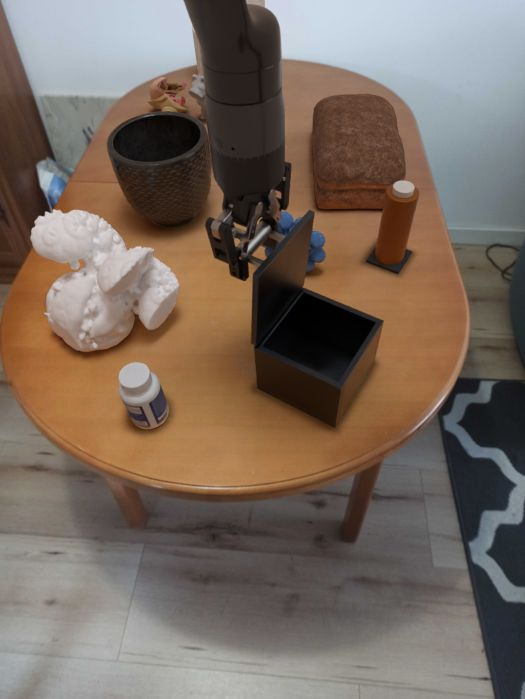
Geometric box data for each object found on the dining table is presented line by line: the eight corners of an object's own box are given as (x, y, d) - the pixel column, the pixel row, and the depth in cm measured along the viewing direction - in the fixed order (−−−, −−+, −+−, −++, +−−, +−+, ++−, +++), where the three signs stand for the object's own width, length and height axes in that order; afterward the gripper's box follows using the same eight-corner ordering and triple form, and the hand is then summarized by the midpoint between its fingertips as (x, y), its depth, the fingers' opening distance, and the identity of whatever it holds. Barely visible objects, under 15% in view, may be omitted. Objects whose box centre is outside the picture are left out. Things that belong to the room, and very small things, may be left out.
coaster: (411, 253, 89) (412, 251, 89) (398, 274, 86) (398, 271, 86) (380, 242, 91) (380, 239, 91) (365, 262, 88) (366, 259, 88)
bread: (313, 213, 97) (316, 159, 88) (310, 131, 114) (312, 79, 105) (403, 213, 96) (415, 158, 87) (386, 129, 114) (395, 77, 104)
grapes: (253, 284, 86) (249, 227, 76) (260, 257, 90) (257, 200, 80) (321, 290, 84) (326, 234, 75) (326, 263, 88) (330, 206, 79)
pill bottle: (162, 391, 73) (148, 351, 66) (174, 420, 70) (160, 382, 63) (126, 406, 72) (107, 366, 64) (137, 436, 69) (118, 398, 61)
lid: (315, 211, 60) (273, 193, 62) (258, 276, 54) (214, 254, 56) (303, 285, 71) (268, 268, 73) (255, 346, 65) (218, 326, 67)
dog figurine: (188, 125, 118) (180, 78, 110) (222, 102, 124) (217, 55, 116) (205, 132, 116) (199, 84, 108) (239, 107, 122) (235, 61, 114)
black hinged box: (374, 363, 75) (384, 320, 67) (335, 428, 69) (341, 389, 61) (300, 330, 79) (301, 286, 72) (257, 388, 73) (253, 347, 65)
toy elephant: (191, 124, 119) (159, 104, 112) (165, 134, 126) (133, 116, 119) (197, 87, 120) (165, 65, 113) (170, 99, 127) (138, 79, 119)
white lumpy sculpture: (-16, 308, 72) (51, 186, 72) (75, 332, 91) (129, 236, 90) (75, 373, 66) (150, 240, 65) (153, 385, 85) (211, 282, 84)
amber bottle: (408, 251, 89) (425, 182, 77) (396, 269, 86) (413, 200, 75) (381, 242, 90) (395, 173, 79) (369, 259, 88) (381, 190, 77)
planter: (176, 255, 91) (158, 177, 78) (110, 221, 98) (84, 144, 85) (235, 206, 99) (228, 128, 86) (171, 177, 106) (155, 101, 93)
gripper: (237, 183, 45) (249, 309, 58) (315, 109, 52) (309, 237, 65) (171, 159, 47) (196, 286, 61) (253, 92, 54) (260, 219, 68)
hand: (255, 260), depth 63 cm, fingers closed on lid, 6 cm apart
